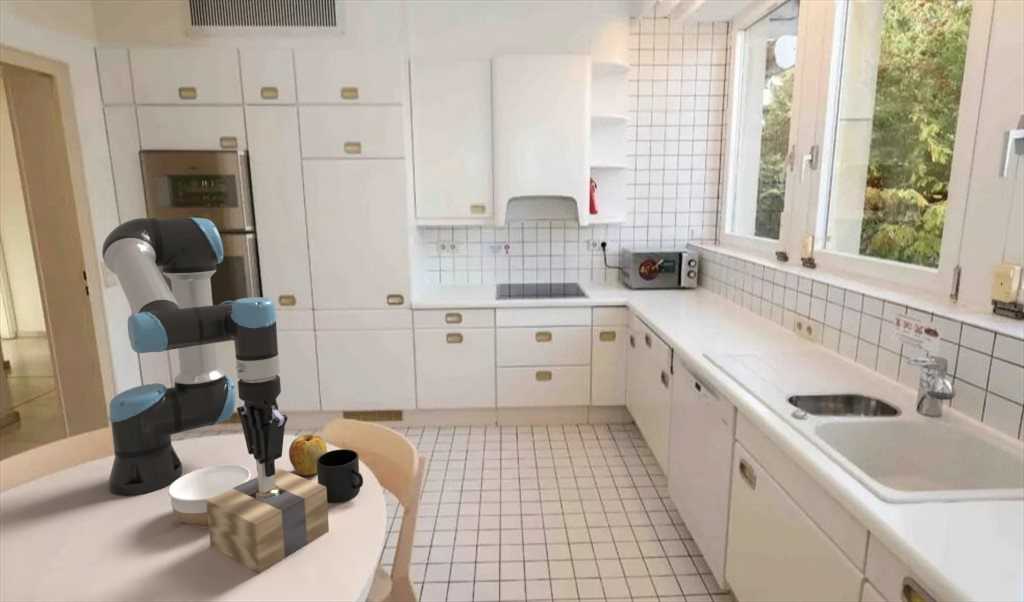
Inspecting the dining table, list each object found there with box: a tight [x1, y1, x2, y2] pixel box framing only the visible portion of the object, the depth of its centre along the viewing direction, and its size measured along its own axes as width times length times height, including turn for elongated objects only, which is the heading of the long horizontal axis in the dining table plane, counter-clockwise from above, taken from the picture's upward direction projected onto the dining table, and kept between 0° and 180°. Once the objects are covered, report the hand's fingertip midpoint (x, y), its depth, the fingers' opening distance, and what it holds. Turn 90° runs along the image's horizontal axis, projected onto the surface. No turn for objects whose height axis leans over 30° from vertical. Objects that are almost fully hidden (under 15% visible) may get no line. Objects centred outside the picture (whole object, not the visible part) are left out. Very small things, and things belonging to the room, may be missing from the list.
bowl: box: [167, 464, 252, 529], centre depth 119 cm, size 16×16×8 cm
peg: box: [256, 485, 280, 502], centre depth 110 cm, size 4×4×9 cm
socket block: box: [206, 467, 330, 574], centre depth 110 cm, size 16×16×10 cm
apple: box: [288, 434, 328, 477], centre depth 138 cm, size 9×9×10 cm
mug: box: [316, 448, 364, 504], centre depth 128 cm, size 9×12×9 cm
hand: (267, 489), depth 109 cm, fingers closed
